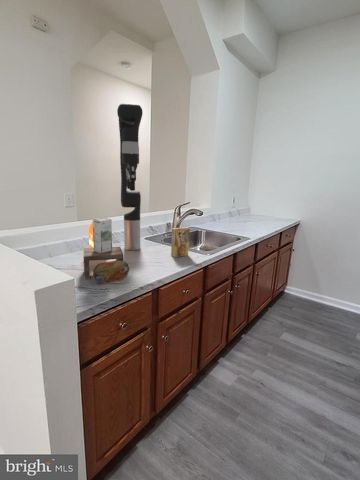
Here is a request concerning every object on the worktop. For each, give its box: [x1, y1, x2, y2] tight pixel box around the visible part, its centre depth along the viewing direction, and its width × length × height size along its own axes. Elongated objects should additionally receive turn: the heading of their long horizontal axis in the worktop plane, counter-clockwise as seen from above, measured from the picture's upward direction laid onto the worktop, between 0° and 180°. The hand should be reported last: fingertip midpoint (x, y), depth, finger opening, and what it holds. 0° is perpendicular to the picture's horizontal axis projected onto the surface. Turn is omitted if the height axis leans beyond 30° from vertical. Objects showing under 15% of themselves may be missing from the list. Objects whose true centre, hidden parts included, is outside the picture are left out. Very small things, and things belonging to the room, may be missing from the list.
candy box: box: [170, 226, 190, 258], centre depth 149 cm, size 9×4×15 cm, turn 119°
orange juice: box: [87, 217, 97, 248], centre depth 143 cm, size 8×9×20 cm
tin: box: [92, 259, 130, 285], centre depth 113 cm, size 15×3×8 cm, turn 126°
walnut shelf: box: [83, 246, 124, 280], centre depth 121 cm, size 12×16×10 cm
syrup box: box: [92, 217, 113, 254], centre depth 118 cm, size 6×6×14 cm
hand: (131, 189), depth 127 cm, fingers open, 8 cm apart
